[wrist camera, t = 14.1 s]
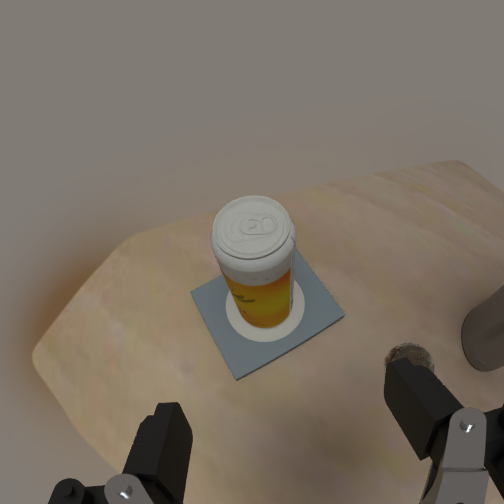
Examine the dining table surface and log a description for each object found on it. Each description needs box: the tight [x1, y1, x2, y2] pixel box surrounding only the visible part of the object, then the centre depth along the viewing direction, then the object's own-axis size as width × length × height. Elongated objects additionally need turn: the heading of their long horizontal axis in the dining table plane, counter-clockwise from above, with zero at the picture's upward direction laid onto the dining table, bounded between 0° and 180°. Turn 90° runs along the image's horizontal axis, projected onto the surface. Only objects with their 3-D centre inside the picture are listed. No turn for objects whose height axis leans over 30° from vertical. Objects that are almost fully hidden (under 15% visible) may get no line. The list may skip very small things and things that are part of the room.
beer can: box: [211, 195, 296, 328], centre depth 26 cm, size 6×6×15 cm
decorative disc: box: [384, 343, 434, 374], centre depth 27 cm, size 7×6×1 cm
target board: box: [191, 249, 345, 380], centre depth 33 cm, size 14×12×1 cm
